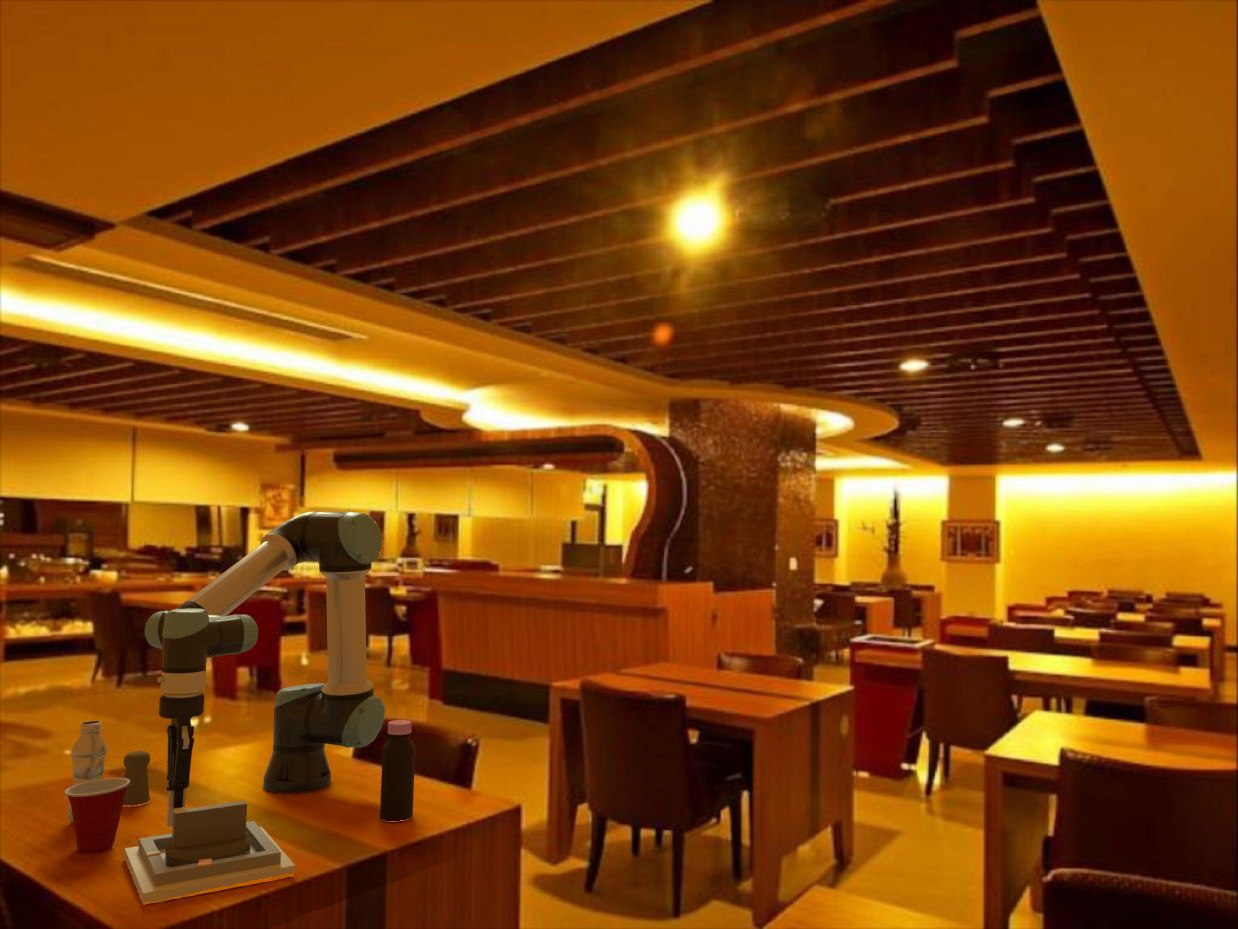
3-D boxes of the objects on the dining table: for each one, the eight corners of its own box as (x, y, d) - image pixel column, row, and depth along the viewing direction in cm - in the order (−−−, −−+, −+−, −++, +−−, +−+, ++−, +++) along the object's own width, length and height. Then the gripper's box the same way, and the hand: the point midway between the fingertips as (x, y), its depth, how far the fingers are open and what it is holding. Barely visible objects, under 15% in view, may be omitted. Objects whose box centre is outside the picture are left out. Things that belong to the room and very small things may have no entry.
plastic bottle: (111, 819, 192) (117, 720, 193) (83, 829, 185) (89, 727, 186) (88, 815, 194) (93, 718, 195) (59, 825, 187) (65, 724, 189)
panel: (261, 837, 183) (262, 815, 183) (294, 877, 163) (295, 852, 163) (124, 859, 169) (125, 835, 170) (142, 906, 150) (144, 878, 150)
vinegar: (419, 818, 197) (422, 722, 198) (391, 825, 192) (395, 727, 193) (400, 811, 201) (404, 717, 202) (373, 818, 196) (377, 722, 198)
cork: (155, 799, 205) (158, 749, 206) (139, 808, 199) (142, 756, 200) (130, 798, 206) (133, 748, 206) (112, 806, 200) (115, 754, 200)
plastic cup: (78, 839, 180) (82, 776, 180) (136, 838, 180) (140, 776, 181) (49, 859, 169) (53, 792, 169) (110, 859, 170) (114, 792, 170)
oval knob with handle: (240, 837, 176) (242, 789, 177) (258, 860, 165) (261, 809, 165) (159, 850, 168) (161, 800, 169) (172, 875, 157) (174, 822, 157)
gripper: (154, 689, 175) (147, 818, 173) (165, 701, 164) (158, 838, 162) (197, 686, 179) (191, 811, 177) (211, 698, 168) (204, 831, 167)
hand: (175, 824), depth 170 cm, fingers closed
